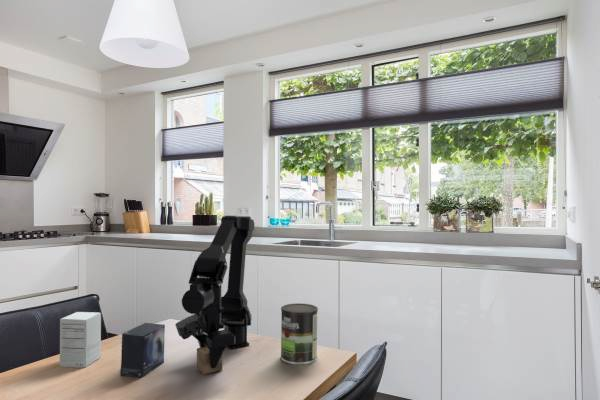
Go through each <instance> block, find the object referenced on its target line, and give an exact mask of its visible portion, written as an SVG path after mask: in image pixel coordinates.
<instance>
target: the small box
mask: <svg viewBox="0 0 600 400" xmlns="http://www.w3.org/2000/svg"><path fill="white" fill-rule="evenodd" d="M165 328H166V325H165V324H162V323H161V324H160V323H154V322H153V323H152V322H151V323H150V322H144V323H142V324H139V325H138V326H135V327H133V328H131V329H129V330H126V331H125V332H123V333H122V334H121V357H120V359H121V360H120V373H119V374H120V376H128V377H134V378H135V377H136V378H143V377H145V376H146V375H147V374H149V373H150V372H152V371H153V370H155V369H156V368H158V367H159V366H161V365H162V364H164V362H165V333H166V329H165Z"/></svg>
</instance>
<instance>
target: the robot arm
mask: <svg viewBox="0 0 600 400" xmlns="http://www.w3.org/2000/svg"><path fill="white" fill-rule="evenodd" d="M220 220H221V221H220V224H219V227H218V229H217V231H216V233H215V234H214V237H213V239H212V241H211V243H210V245H209V247H208V248H205V249H204V250H202V251H201V252H200V253H199V255H198V257H197V258H196V259H195V261H194V265H193V266H192V269H191V270H192V271H191V273H190V277H189V280H188V284H189V289H188V290H187V291H186V292H185V293H184V294H183V296H182V298H181V305H182V308H183V310H184V311H185V312H186V313H188V314H191V315H190V316H187V317H185V318H184V319H181V320H179V321H178V322H176V323H175V329H176V331H177V333H178V336H179V337H180V338H182V339H183V340H186V339H190V337H193V338H194V339H196V340H197V342H198V347H199V348H201V347H208V349H209V356H210V364H211V368H216V366H217V364H218V362H219V360H220V357H221V355H222V356H223V354H222V353H224V352H225V350H226V348H228V349H231V350H232V349H237V348H241V347H246V346H249V345H250V342H248V326H252V314H251V311H250V309H249V306H248V300H247V297H246V295H245V293H244V282H245V281H244V280H245V267H246V252H247V244H248V243H249V242H250V240H251V239H252V238H253V231H254V230H255V220H254V219H252V218H251V216H241V215H240V216H238V215H223V216H222V217H221V219H220ZM229 249H230V252H229V253H230V254H229V255H230V256H229V267H228V262H227V259H226V256H227V253H228V251H229ZM227 270H228V278H227V280H228V281H227V291H226V292H225V294H224V295H223V296H222V284H223V283H224V279H225V276H226V273H227Z"/></svg>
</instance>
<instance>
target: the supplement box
mask: <svg viewBox="0 0 600 400" xmlns="http://www.w3.org/2000/svg"><path fill="white" fill-rule="evenodd" d="M101 336H102V312H97V311H95V312H91V311H90V312H89V311H75V312H74V313H72V314H69V315H66V316H64V317H61V318H60V319H59V367H60V368H61V367H64V368H88V366H90V365H91V364H92V363H93V364H94V362H95V361H97V360H98V359H100V358H101V354H102V353H101V349H102V348H101V345H102V344H101V343H102V340H101V339H102V337H101Z"/></svg>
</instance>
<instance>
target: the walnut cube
mask: <svg viewBox="0 0 600 400" xmlns="http://www.w3.org/2000/svg"><path fill="white" fill-rule="evenodd" d="M223 353H224V352H223ZM223 353H222V355H221V357H220V360H219V362H218V364H217V366H216V368H211V364H210V356H209V349H208V347H201V348H200V347H198V348H196V369H197V370H198V371H200V372H201V374H203V375H206V374H207V375H208V374H210V373H214V372H219V371H223Z"/></svg>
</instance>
